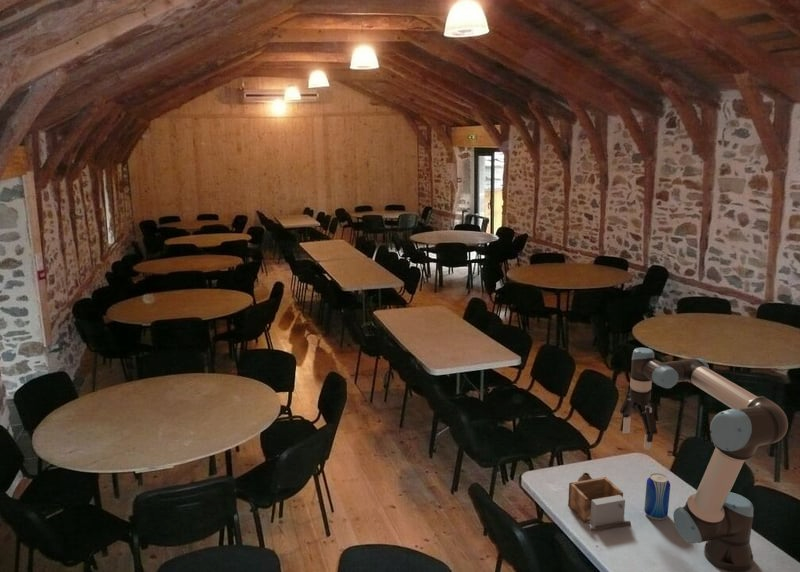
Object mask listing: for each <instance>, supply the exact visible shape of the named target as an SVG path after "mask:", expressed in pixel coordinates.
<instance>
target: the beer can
mask: <svg viewBox="0 0 800 572" xmlns="http://www.w3.org/2000/svg"><path fill="white" fill-rule="evenodd" d="M645 486H646V487H645V498H644V499H645V500H644V507H643V508H644V509H643V511H644V513H645V514H646V516H647V518H650V519H652V520H655V521H663V520H665V519H666V518H667V517H668V515H669V505H670V504H669V503H670V494H671V482H670V481H669V478H668V476H667V475H665V474H664V473H663V474H662V473H659V472H656V473H655V472H653V473H651V474H650V475H649V477H648V478H647V479H646V484H645Z"/></svg>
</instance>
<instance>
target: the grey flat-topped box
mask: <svg viewBox="0 0 800 572" xmlns="http://www.w3.org/2000/svg"><path fill="white" fill-rule="evenodd" d="M625 507H626V499H625V498H624V496H623V497H622V496H621V495H616V496H611V497H605V498H599V499H593V500H591V516H590V522H589V524H590V526H591V527H598V526H603V525H608V524H614V523H619V522H624V521H625V520H624V519H625Z"/></svg>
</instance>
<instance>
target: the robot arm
mask: <svg viewBox="0 0 800 572" xmlns="http://www.w3.org/2000/svg"><path fill="white" fill-rule="evenodd" d="M632 351H633V352H632V355H631V371H630V382H629V386H630V388H629V393H627V394H626V395H625V399H624V402H623V404H622V406H621V408H620V410H619V413H620V414H621V416H622V417H623V418H622V424H623V425H622V434H630V433H631V423H632V422H631V419H632V418H631V416H632V414H633V413H634V412H636V413H637V414H638V415H639V417H640V418H641V420H642V423H643V426H644V428H645V429H644V430H645V432H644V440H643V450H645V451H646V450H651V449H652V444H653V439H654V435H658V428H657V423H656V418H655V414H654V413H655V411H654V407H653V406H649V404H648V403H649V402H650V401H651V398H652V397H651V396H652V386H653V385H652V383H654V384H655V385H656V386H658V387H659V386H660V387H661V388H664V389H671V388H673V387H674V386H675V385H677V384H678V383H680V382H689V383H691V384H692V385H694V386H696V387H697V388H699V389H700V390H701V391H704V392H705V393H707V394H708V395H710V396H711V397H713V399H714V398H715V399H716V400H717V401H719V402H721V403H723V405H726V406H727V407H729V408H730V409H726V410H723V411H720V412H718V413H717V414H715V415H714V416H713V418H712V420H711V422H710V427H709V430H710V431H711V433H710V437H711V440H712V443H713V445H714V447H715V448H714V450H713V453H712V455H711V458H710V459H709V462H708V464H707V467H706V468H705V471H704V473H703V476H702V478H701V481H700V483H699V485H698V487H697V490H696V493H693V494H690V496H688V498H687V501H686V502H685V505H684V506H679V507H677V508H675V509H674V511H673V515H672V516H673V522H674V523H673V524H674V526H675V529H676V531H677V533H678V534H679V535H680V536H681V539H683V540H684V541H685V542H687V543H689V544H701V543H704V542H706V543H704V549H703V552H704V553H703V554H704V557H705V558H706V559H707V561H708V562H710V563H711V564H713V565H714V566H716V567H718V568H720V569H723V570H724V571H725V570H726V571H728V572H747V571H749V570H750V569H752V567H753V566H754V555H753V552H752V548H751V543H750V542H751V541H750V540H751V533H752V527H753V522H754V521H753V519H754V505H753V503H752V502H751V501H750V500H749V499H748V498H746V497H745V496H743V495H741V494H738V493H734V492H731V490H732V488H733V486H734V484H735V482H736V480H737V477H738V476H739V473H740V471H741V469H742V467H743V465H744V463H745V461H749V460H751V459H752V458H753V457H754V455H755V453H756V451H757V449H758V447H761V446H766V445H771V444H775V443H778V442H779V441H780V440H782V439H783V438H784V437H785V435H787V432H788V428H789V421H788V416H787V415H786V413H785V412H784V410H783V409H782V408H781V407H780V406H779V405H778V404H777V403H775V402H774V401H772V400H770V399H769V398H767V397H765V396H758V395H755V394H754V393H751V392H750V391H748V390H746V389H745V388H743V387H741V386H739V385H738V384H736V383H734V382H733V381H731V380H729V379H727V378H726V377H724V376H722V375H721V374H719V373H716V372H715V371H713V370H712V369H710V367H709V366H710V365H709V364H708V363H707V361H706V360H705V359H703V358H700V357H698V358H695V357H694V358H689V359H683V360H682V359H681V360H674V361H666V362H661V361H660V360H657V359H656V358H655V357H656V356H655V352H654V350H653V349H651V348H649V347H648V348H647V347H636V348H634V350H632Z"/></svg>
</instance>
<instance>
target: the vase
mask: <svg viewBox="0 0 800 572" xmlns="http://www.w3.org/2000/svg"><path fill="white" fill-rule="evenodd" d="M590 479H593V478H592V477H591V475H590V473H588V472H583V473H582V475H581V476H580V477H578V479H577V481H576V482H578V481H584V480H590Z"/></svg>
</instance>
